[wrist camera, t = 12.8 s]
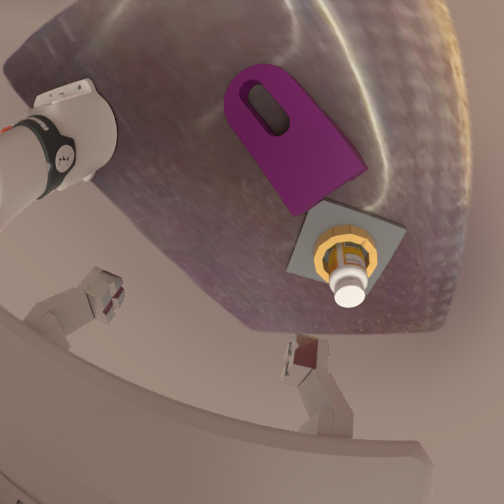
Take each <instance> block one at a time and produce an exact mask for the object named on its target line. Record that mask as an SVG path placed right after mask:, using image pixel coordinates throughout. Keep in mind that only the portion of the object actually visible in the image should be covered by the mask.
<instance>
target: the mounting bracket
mask: <svg viewBox="0 0 504 504" xmlns="http://www.w3.org/2000/svg"><path fill="white" fill-rule="evenodd" d="M257 84H262V85H263V86H264V87H265V88H266V89H267V91H268V92H269V93H270V94H271V95H272V96H273V98H274V99H275V100H276V101H277V102H278V103H279V105H280V106H281V107H282V108H283V109H284V111H285V112H286V113H287V114H288V116H289V118H290V126H289V129H288V130H287V132H286V133H285V134H283V135H281V136H275V135H274V133H273V132H272V131H271V130H270V128H269V127H268V126H267V124H266V123H265V122H264V121H263V119H262V118H261V117H260V116H259V114H258V113H257V112H256V111H255V109H254V108H253V107H252V106H251V104H250V103H249V101H248V93H249V91H250V89H251V88H252V87H253V86H255V85H257ZM224 113H225V117H226V119H227V121H228V123H229V125H230V126H231V128H232V129H233V130H234V132H235V133H236V134H237V136H238V137H239V139H240V140H241V141H242V143H243V144H244V145H245V147H246V148H247V150H248V151H249V152H250V154H251V155H252V157H253V158H254V159H255V161H256V162H257V164H258V165H259V167H260V168H261V169H262V171H263V172H264V174H265V175H266V177H267V178H268V180H269V181H270V182H271V184H272V185H273V187H274V188H275V190H276V191H277V193H278V194H279V196H280V197H281V199H282V200H283V202H284V203H285V205H286V206H287V208H288V209H289V211H290V212H291V214H292V215H293V217H295V216H297V215H300V214H302V213H305V212H307V211H309V210H310V209H312V208H313V207H314V206H316V205H317V204H319V203H320V202H322V201H323V198H324V197H326V196H327V195H329V194H330V193H331V192H333V191H334V190H336V189H337V188H339V187H340V186H342V185H343V184H344V183H346V182H347V181H349V180H353V179H355V178H356V177H358V176H359V175H361V174H362V173H364V172H365V171H366V170H368V167H367V165H366V163H365V162H364V160H363V159H362V157H361V156H360V154H359V153H358V151H357V150H356V148H355V147H354V146H353V144H352V143H351V142H350V140H349V139H348V138H347V137H346V135H345V134H344V133H343V132H342V131H341V129H340V128H339V127H338V126H337V125H336V124H335V122H334V121H333V120H332V119H331V118H330V117H329V116H327V115H326V114H325V113H324V112H323V111H322V110H321V109H320V107H319V106H318V105H317V104H316V103H315V102H314V100H313V99H312V98H311V97H310V96H309V95H308V94H307V92H306V91H305V90H304V89H303V88H302V87H301V86H300V85H299V84H298V83H297V81H296V80H295V79H294V78H293V77H291V76H290V75H289V74H288V73H287V72H285V71H284V70H282V69H281V68H279V67H277V66H274V65H269V64H259V65H254V66H251V67H248V68H246V69H245V70H243V71H241V72H240V73H239V74H238V75H237V76H236V77H235V78H234V79H233V80H232V81H231V83H230V85H229V86H228V88H227V91H226V93H225V97H224Z"/></svg>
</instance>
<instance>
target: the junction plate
mask: <svg viewBox="0 0 504 504" xmlns="http://www.w3.org/2000/svg"><path fill="white" fill-rule="evenodd" d="M406 231H407V229H406V227H405V226H403V225H400V224H397V223H395V222H392V221H390V220H387V219H384V218H382V217H379V216H376V215H374V214H371V213H368V212H365V211H362V210H360V209H357V208H354V207H351V206H348V205H345V204H342V203H339V202H336V201H333V200H330V199H327V198H323V201H322V202H320V203H319V204H317V205H316V206H314V207H313V208H312V209H310V210H309V211H308V212H307V215H306V217H305V220H304V223H303V226H302V228H301V231H300V234H299V236H298V239H297V242H296V244H295V247H294V250H293V252H292V255H291V258H290V260H289V263H288V265H287V269H286V271H287V272H290V273H293V274H297V275H300V276H304V277H307V278H311V279H314V280H318V281H321V282H325V283H328V284H329V258H328V254H329V249H330V247H332V246H333V245H335V244H336V243H341V242H348V241H351V242H354V243H357V244H360V245H361V247H362V250H363V255H364V260H365V266H366V271H367V276H368V284H367V287H366V288H365V294H367V295H368V293H369V292H370V290H371V289H372V287H373V286H374V284H375V282H376V281H377V279H378V278H379V276H380V275H381V273H382V271H383V270H384V268H385V267H386V265H387V263H388V262H389V260H390V258H391V257H392V255H393V253H394V252H395V250H396V248H397V246H398V245H399V243H400V241H401V239H402V238H403V236H404V234H405V232H406Z"/></svg>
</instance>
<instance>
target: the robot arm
mask: <svg viewBox="0 0 504 504" xmlns="http://www.w3.org/2000/svg"><path fill="white" fill-rule="evenodd" d="M116 141H117V127H116V121H115V118H114V115H113V112H112V110H111V108H110V106H109V105H108V103H107V102H106V101H105V100H104V99H103V98H102V97H101V96H100V95H99V94H98V93H97V91H96V89H95V87H94V84H93V82H92V81H91V80H90V79H89V78H86V79H83V80H79V81H76V82H73V83H70V84H67V85H64V86H61V87H58V88H56V89H53V90H50V91H48V92H45V93H43V94H40V95H38V96H37V98H36V100H35V103H34V108H32V109H29V110H27V111H25V112H24V114H23V116H22V118H21V120H20V121H19V122H18V123H17V124H15V125H14V126H13V127H11V126H10V127H6V128H4V129H2V130H1V134H0V233H1V232H2V230H3V229H4V228H5V226H6V225H7V224H8V223H9V222H10V221H11V220H12V219H13V218H15V216H17V215H18V214H19V213H20V212H21V211H22V210H23V209H25V208H26V207H27V206H28V205H30V203H32V202H33V201H35V200H37V199H41V198H43V197H45V196H47V195H49V194H50V193H52V192H53V191H54V190H55V189H58V190H63V189H65V188H67V187H69V186H70V185H72V184H74V183H76V182H77V181H79V180H83V181H85V182H87V181H89V180H91V179H92V178H93V176H94V174H95V172H96V171H97V170H98V169H99V168H101V167H102V166H104V165H105V164H106V163H107V162H108V161H109V160H110V158H111V157H112V155H113V153H114V150H115V146H116ZM122 284H123V280H122V278H121V277H119V276H116V275H114V274H112V273H109V272H107V271H104V270H102V269H100V268H98V267H94V268H93V269H91V271H90V272H89V273H88V274H87V276H86V277H85V278H84V279H83V280H82V281H81V283H80V284H79V285H78V286H77V288H71V289H69V290H67V291H64V292H62V293H59V294H57V295H55V296H52V297H50V298H48V299H46V300H43V301H41V302H39V303H36V305H35V306H34V307H33V308H32V310H31V311H30V312H29V313H28V315H27V316H26V317H25V319H24V320H23V321H22V320H20V319H19V318H17V317H16V316H15V315H13V314H12V313H11V312H9V311H8V310H7V309H5V308H4V307H3V306H1V305H0V504H431V501H432V493H433V483H434V465H433V462H432V460H431V458H430V457H429V455H428V453H427V452H426V450H425V449H424V447H423V446H422V445H421V444H420V442H418V441H413V440H406V441H389V440H388V441H387V440H364V439H363V440H362V439H352V437H353V417H354V415H353V414H354V413H353V411H352V409H351V408H350V406H349V404H348V402H347V401H346V399H345V397H344V395H343V393H342V392H341V390H340V388H339V386H338V385H337V383H336V381H335V379H334V378H333V376H332V374H331V373H329V372H328V355H329V342H328V341H327V340H323V339H319V338H316V337H312V336H308V335H303V334H299V333H295V334H294V336H293V339H292V342H290V343H289V345H288V347H287V349H286V352H285V356H284V361H283V362H284V364H285V366H284V368H283V369H282V374H281V380H280V383H284V384H288V385H292V386H296V387H298V390H299V393H300V395H301V398H302V400H303V403H304V405H305V408H306V410H307V413H308V415H309V418H310V419H309V420H308V421H307V422H305V423H304V424H303V425H301V426H300V427H299V430H298V432H294V431H289V430H284V429H278V428H273V427H269V426H264V425H259V424H255V423H251V422H247V421H242V420H239V419H234V418H231V417H228V416H224V415H220V414H217V413H213V412H210V411H207V410H204V409H201V408H197V407H194V406H191V405H188V404H185V403H182V402H180V401H177V400H174V399H171V398H169V397H166V396H164V395H161V394H158V393H156V392H153V391H151V390H148V389H146V388H144V387H141V386H139V385H137V384H134V383H132V382H130V381H127V380H125V379H123V378H121V377H119V376H117V375H114V374H112V373H110V372H108V371H106V370H104V369H102V368H100V367H98V366H96V365H94V364H92V363H90V362H88V361H86V360H85V359H83V358H81V357H79V356H78V355H76V354H74V353H72V352H70V351H69V348H70V343H69V342H68V339H67V337H66V336H68V335H69V334H71V333H73V332H74V331H76V330H77V329H79V328H81V327H82V326H84V325H86V324H87V323H89V322H91V321H92V320H94V318H95V319H97V320H99V321H102V322H104V323H106V324H109V323H110V321H111V320H112V318H113V317H114V315H115V309H118V308H119V307H120V306H121V305H122V303H123V300H124V297H125V291H124V289H123V287H122V286H121V285H122Z"/></svg>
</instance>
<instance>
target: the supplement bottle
mask: <svg viewBox="0 0 504 504" xmlns="http://www.w3.org/2000/svg"><path fill="white" fill-rule="evenodd" d="M328 258H329V285H330V288H331V290H332V291H333V292H334V296H335V301H336V302H337V304H339V305H340V306H343V307H355V306H357V305H359V304H360V303H361V302H362V301H363V300H364V298H365V288H366V287H367V284H368V276H367V271H366V266H365V260H364V255H363V250H362V247H361V245H360V244H357V243H354V242H351V241H348V242H341V243H336V244H335V245H333V246H332V247H330V249H329V254H328Z"/></svg>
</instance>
